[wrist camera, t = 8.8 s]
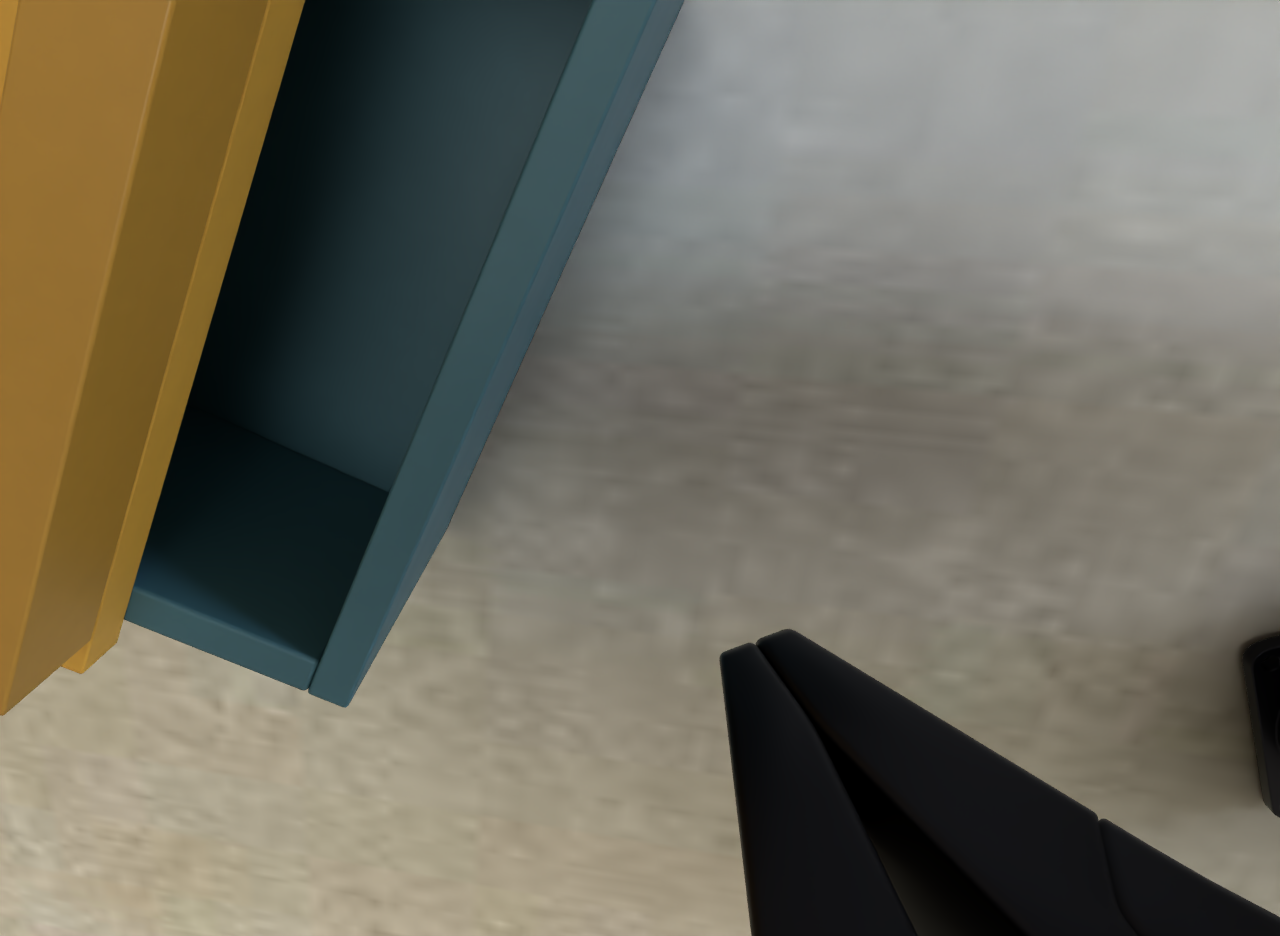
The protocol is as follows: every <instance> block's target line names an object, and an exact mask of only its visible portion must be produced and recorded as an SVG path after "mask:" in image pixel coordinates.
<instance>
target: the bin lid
mask: <svg viewBox="0 0 1280 936" xmlns="http://www.w3.org/2000/svg"><path fill="white" fill-rule="evenodd" d="M304 2H305V0H0V715H2V716H3V715H5V714H6V713H7V712H8V711H9V710H10V709H12V708H13V707H14V706H15V705H16V704H17V703H19V702H20V701H21V700H22V699H23V698H24V697H25V696H27V695H28V694H29V693H30V692H31V691H32V690H34V689H35V688H36V687H37V686H38V685H39V684H41V683H42V682H43V681H44V680H45V679H46V678H47V677H49V676H50V675H51V674H52V673H53V672H54V671H56V670H57V669H58V668H59V667H60V666H61V667H64V668H66V669H69V670H72V671H74V672H77V673H80V674H82V673H84V672H85V671H86V670H87V669H88V668H89V667H90V666H92V665H93V664H94V663H95V662H96V661H97V660H98V659H99V658H100V657H101V656H103V655H104V654H105V653H106V652H107V651H108V650H109V649H110V648H111V647H112V646H113V645H115V644H116V643H117V640H118V637H119V633H120V630H121V626H122V623H123V620H124V616H125V613H126V609H127V606H128V603H129V599H130V596H131V592H132V589H133V586H134V582H135V579H136V575H137V572H138V568H139V565H140V562H141V558H142V555H143V551H144V548H145V545H146V541H147V538H148V534H149V531H150V528H151V524H152V521H153V517H154V514H155V511H156V507H157V504H158V500H159V497H160V493H161V490H162V487H163V483H164V480H165V476H166V473H167V470H168V466H169V463H170V459H171V456H172V453H173V449H174V446H175V442H176V439H177V435H178V432H179V429H180V425H181V422H182V418H183V415H184V412H185V408H186V405H187V401H188V398H189V395H190V391H191V388H192V384H193V381H194V377H195V374H196V371H197V367H198V364H199V360H200V357H201V354H202V350H203V347H204V343H205V340H206V337H207V333H208V330H209V326H210V323H211V319H212V316H213V313H214V309H215V306H216V302H217V299H218V296H219V292H220V289H221V285H222V282H223V279H224V275H225V272H226V268H227V265H228V261H229V258H230V255H231V251H232V248H233V244H234V241H235V238H236V234H237V231H238V227H239V224H240V221H241V217H242V214H243V210H244V207H245V203H246V200H247V197H248V193H249V190H250V186H251V183H252V180H253V176H254V173H255V169H256V166H257V163H258V159H259V156H260V152H261V149H262V145H263V142H264V139H265V135H266V132H267V128H268V125H269V122H270V118H271V115H272V111H273V108H274V105H275V101H276V98H277V94H278V91H279V87H280V84H281V81H282V77H283V74H284V70H285V67H286V64H287V60H288V57H289V53H290V50H291V47H292V43H293V40H294V36H295V33H296V29H297V26H298V23H299V19H300V16H301V12H302V9H303V6H304Z"/></svg>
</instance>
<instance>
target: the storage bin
mask: <svg viewBox="0 0 1280 936" xmlns="http://www.w3.org/2000/svg"><path fill="white" fill-rule="evenodd" d="M683 2H684V0H305V2H304V6H303V9H302V12H301V16H300V19H299V23H298V26H297V29H296V33H295V36H294V40H293V43H292V47H291V50H290V53H289V57H288V60H287V64H286V67H285V70H284V74H283V77H282V81H281V84H280V87H279V91H278V94H277V98H276V101H275V105H274V108H273V111H272V115H271V118H270V122H269V125H268V128H267V132H266V135H265V139H264V142H263V145H262V149H261V152H260V156H259V159H258V163H257V166H256V169H255V173H254V176H253V180H252V183H251V186H250V190H249V193H248V197H247V200H246V203H245V207H244V210H243V214H242V217H241V221H240V224H239V227H238V231H237V234H236V238H235V241H234V244H233V248H232V251H231V255H230V258H229V261H228V265H227V268H226V272H225V275H224V279H223V282H222V285H221V289H220V292H219V296H218V299H217V302H216V306H215V309H214V313H213V316H212V319H211V323H210V326H209V330H208V333H207V337H206V340H205V343H204V347H203V350H202V354H201V357H200V360H199V364H198V367H197V371H196V374H195V377H194V381H193V384H192V388H191V391H190V395H189V398H188V401H187V405H186V408H185V412H184V415H183V418H182V422H181V425H180V429H179V432H178V435H177V439H176V442H175V446H174V449H173V453H172V456H171V459H170V463H169V466H168V470H167V473H166V476H165V480H164V483H163V487H162V490H161V493H160V497H159V500H158V504H157V507H156V511H155V514H154V517H153V521H152V524H151V528H150V531H149V534H148V538H147V541H146V545H145V548H144V551H143V555H142V558H141V562H140V565H139V568H138V572H137V575H136V579H135V582H134V586H133V589H132V592H131V596H130V599H129V603H128V606H127V609H126V613H125V616H124V620H127V621H129V622H132V623H134V624H137V625H139V626H142V627H144V628H147V629H149V630H152V631H154V632H157V633H159V634H162V635H164V636H167V637H169V638H172V639H175V640H177V641H180V642H182V643H185V644H187V645H190V646H192V647H195V648H197V649H200V650H202V651H205V652H207V653H210V654H212V655H215V656H217V657H220V658H222V659H225V660H227V661H230V662H232V663H235V664H237V665H240V666H243V667H245V668H248V669H250V670H253V671H255V672H258V673H260V674H263V675H265V676H268V677H270V678H273V679H275V680H278V681H280V682H283V683H285V684H288V685H290V686H293V687H295V688H298V689H300V690H307V689H308V688H309V689H308V693H309V694H311V695H314V696H316V697H319V698H321V699H324V700H326V701H329V702H331V703H334V704H336V705H339V706H341V707H347V706H348V705H349V703H350V702H351V700H352V698H353V696H354V694H355V693H356V691H357V689H358V687H359V685H360V684H361V682H362V680H363V678H364V677H365V675H366V673H367V671H368V669H369V668H370V666H371V664H372V662H373V660H374V659H375V657H376V655H377V653H378V651H379V650H380V648H381V646H382V644H383V643H384V641H385V639H386V637H387V635H388V634H389V632H390V630H391V628H392V626H393V625H394V623H395V621H396V619H397V617H398V616H399V614H400V612H401V610H402V608H403V607H404V605H405V603H406V601H407V600H408V598H409V596H410V594H411V592H412V591H413V589H414V587H415V585H416V583H417V582H418V580H419V578H420V576H421V574H422V573H423V571H424V569H425V567H426V566H427V564H428V562H429V560H430V558H431V557H432V555H433V553H434V551H435V549H436V548H437V546H438V544H439V542H440V540H441V539H442V537H443V535H444V533H445V531H446V529H447V527H448V525H449V523H450V520H451V518H452V516H453V514H454V511H455V509H456V507H457V505H458V503H459V500H460V498H461V496H462V494H463V491H464V489H465V487H466V485H467V483H468V480H469V478H470V476H471V474H472V471H473V469H474V467H475V465H476V462H477V460H478V458H479V456H480V454H481V451H482V449H483V447H484V445H485V442H486V440H487V438H488V436H489V434H490V431H491V429H492V427H493V425H494V422H495V420H496V418H497V416H498V414H499V411H500V409H501V407H502V405H503V402H504V400H505V398H506V396H507V394H508V391H509V389H510V387H511V385H512V382H513V380H514V378H515V376H516V374H517V371H518V369H519V367H520V365H521V362H522V360H523V358H524V356H525V353H526V351H527V349H528V347H529V345H530V342H531V340H532V338H533V336H534V333H535V331H536V329H537V327H538V325H539V322H540V320H541V318H542V316H543V313H544V311H545V309H546V307H547V305H548V302H549V300H550V298H551V296H552V293H553V291H554V289H555V287H556V285H557V282H558V280H559V278H560V276H561V273H562V271H563V269H564V267H565V265H566V262H567V260H568V258H569V256H570V253H571V251H572V249H573V247H574V245H575V242H576V240H577V238H578V236H579V233H580V231H581V229H582V227H583V224H584V222H585V220H586V218H587V216H588V213H589V211H590V209H591V207H592V204H593V202H594V200H595V198H596V196H597V193H598V191H599V189H600V187H601V184H602V182H603V180H604V178H605V176H606V173H607V171H608V169H609V167H610V164H611V162H612V160H613V158H614V156H615V153H616V151H617V149H618V147H619V144H620V142H621V140H622V138H623V136H624V133H625V131H626V129H627V127H628V124H629V122H630V120H631V118H632V115H633V113H634V111H635V109H636V107H637V104H638V102H639V100H640V98H641V95H642V93H643V91H644V89H645V87H646V84H647V82H648V80H649V78H650V75H651V73H652V71H653V69H654V67H655V64H656V62H657V60H658V58H659V55H660V53H661V51H662V49H663V47H664V44H665V42H666V40H667V38H668V35H669V33H670V31H671V29H672V27H673V24H674V22H675V20H676V18H677V15H678V13H679V11H680V9H681V6H682V4H683Z"/></svg>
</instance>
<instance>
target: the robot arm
mask: <svg viewBox="0 0 1280 936" xmlns="http://www.w3.org/2000/svg"><path fill="white" fill-rule="evenodd" d="M1267 657H1269V658H1268V659H1267V660H1266V661H1264V662H1262V661H1263V660H1264V659H1265V658H1267ZM1242 662H1243V668H1244V675H1245V682H1246V688H1247V695H1248V701H1249V708H1250V715H1251V721H1252V728H1253V735H1254V741H1255V748H1256V754H1257V761H1258V768H1259V774H1260V781H1261V787H1262V794H1263V800H1264V803H1265V805H1266V806H1267V807H1268V808H1269V809H1270V810H1271V811H1272V812H1273V813H1274V814H1275V815H1276V816H1278V817H1280V635H1279V636H1276V637H1272V638H1269V639H1265V640H1262V641H1258V642H1256V643H1254V644H1252V645H1251V646H1249V647H1248V648H1247V649H1246V650H1245V652H1244V654H1243V659H1242ZM720 668H721V676H722V685H723V694H724V702H725V711H726V720H727V728H728V737H729V745H730V754H731V763H732V771H733V780H734V789H735V797H736V806H737V814H738V823H739V832H740V840H741V849H742V858H743V866H744V875H745V883H746V892H747V901H748V909H749V918H750V927H751V935H752V936H1280V917H1279V916H1277V915H1275V914H1273V913H1271V912H1269V911H1267V910H1265V909H1263V908H1261V907H1260V906H1258V905H1256V904H1254V903H1252V902H1250V901H1248V900H1246V899H1244V898H1242V897H1241V896H1239V895H1237V894H1235V893H1233V892H1231V891H1229V890H1227V889H1225V888H1223V887H1222V886H1220V885H1218V884H1216V883H1214V882H1212V881H1210V880H1209V879H1207V878H1205V877H1203V876H1202V875H1200V874H1198V873H1196V872H1195V871H1193V870H1191V869H1190V868H1188V867H1186V866H1184V865H1183V864H1181V863H1179V862H1177V861H1176V860H1174V859H1172V858H1170V857H1169V856H1167V855H1165V854H1164V853H1162V852H1160V851H1158V850H1157V849H1155V848H1153V847H1151V846H1150V845H1148V844H1146V843H1145V842H1143V841H1141V840H1140V839H1138V838H1136V837H1135V836H1133V835H1131V834H1130V833H1128V832H1126V831H1125V830H1123V829H1122V828H1120V827H1118V826H1117V825H1115V824H1113V823H1112V822H1110V821H1109V820H1107V819H1100V820H1099V821H1098V817H1097V815H1096V813H1095V812H1093V811H1091V810H1090V809H1088V808H1086V807H1085V806H1083V805H1082V804H1080V803H1078V802H1077V801H1075V800H1073V799H1072V798H1070V797H1068V796H1067V795H1065V794H1063V793H1062V792H1060V791H1058V790H1057V789H1055V788H1054V787H1052V786H1050V785H1049V784H1047V783H1045V782H1044V781H1042V780H1040V779H1039V778H1037V777H1035V776H1034V775H1032V774H1030V773H1029V772H1027V771H1025V770H1024V769H1022V768H1021V767H1019V766H1017V765H1016V764H1014V763H1012V762H1011V761H1009V760H1007V759H1006V758H1004V757H1002V756H1001V755H999V754H997V753H996V752H994V751H993V750H991V749H989V748H988V747H986V746H984V745H983V744H981V743H979V742H978V741H976V740H974V739H973V738H971V737H969V736H968V735H966V734H965V733H963V732H961V731H960V730H958V729H956V728H955V727H953V726H951V725H950V724H948V723H946V722H945V721H943V720H941V719H940V718H938V717H936V716H935V715H933V714H932V713H930V712H928V711H927V710H925V709H923V708H922V707H920V706H918V705H917V704H915V703H913V702H912V701H910V700H908V699H907V698H905V697H904V696H902V695H900V694H899V693H897V692H895V691H894V690H892V689H890V688H889V687H887V686H885V685H884V684H882V683H880V682H879V681H877V680H875V679H874V678H872V677H871V676H869V675H867V674H866V673H864V672H862V671H861V670H859V669H857V668H856V667H854V666H852V665H851V664H849V663H847V662H846V661H844V660H843V659H841V658H839V657H838V656H836V655H834V654H833V653H831V652H829V651H828V650H826V649H824V648H823V647H821V646H819V645H818V644H816V643H815V642H813V641H811V640H810V639H808V638H806V637H805V636H803V635H801V634H800V633H798V632H796V631H794V630H791V629H785V630H781V631H779V632H776V633H773V634H770V635H768V636H765V637H762V638H760V639H759V640H758V641H757V642H756V645H755V644H753V643H746V644H744V645H741V646H738V647H735V648H733V649H730V650H727V651H725V652H723V653H722V654H721V655H720Z"/></svg>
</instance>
